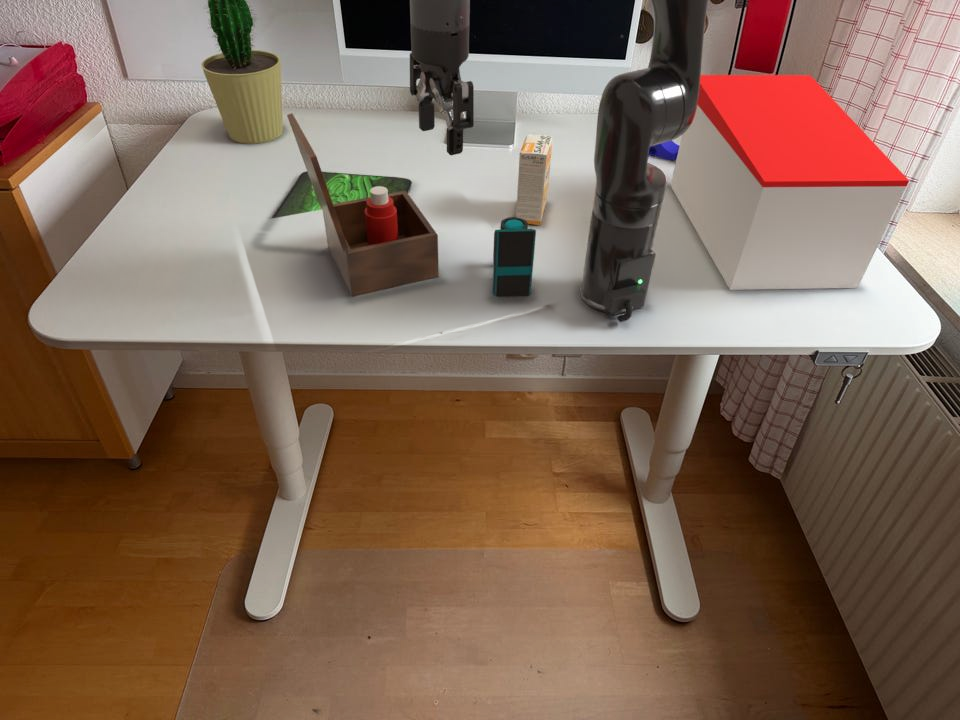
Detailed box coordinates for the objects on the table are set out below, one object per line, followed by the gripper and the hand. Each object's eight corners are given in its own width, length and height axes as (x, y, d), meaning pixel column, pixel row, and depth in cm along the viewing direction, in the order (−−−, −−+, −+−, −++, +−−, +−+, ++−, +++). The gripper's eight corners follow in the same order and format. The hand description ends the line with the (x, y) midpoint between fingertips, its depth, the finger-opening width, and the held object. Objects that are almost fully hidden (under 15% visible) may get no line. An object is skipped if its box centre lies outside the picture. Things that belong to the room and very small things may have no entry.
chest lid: (292, 112, 94) (286, 114, 94) (316, 155, 84) (310, 157, 84) (323, 202, 104) (318, 203, 104) (348, 249, 94) (343, 251, 94)
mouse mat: (382, 259, 109) (382, 253, 108) (252, 248, 111) (251, 243, 110) (414, 181, 129) (413, 177, 129) (303, 173, 131) (302, 168, 130)
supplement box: (541, 226, 118) (548, 155, 109) (514, 223, 118) (518, 152, 110) (547, 204, 124) (554, 135, 115) (521, 201, 124) (526, 132, 116)
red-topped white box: (772, 184, 132) (809, 74, 118) (857, 287, 105) (917, 163, 92) (669, 184, 130) (694, 74, 117) (729, 289, 104) (770, 163, 90)
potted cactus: (293, 145, 141) (265, -15, 121) (216, 150, 138) (175, -13, 118) (292, 116, 152) (267, -34, 132) (221, 121, 149) (184, -32, 129)
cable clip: (645, 153, 141) (651, 125, 137) (653, 146, 144) (659, 118, 140) (701, 168, 136) (708, 139, 132) (708, 160, 139) (715, 132, 135)
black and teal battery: (527, 196, 101) (536, 231, 93) (522, 263, 109) (530, 300, 101) (490, 196, 100) (496, 231, 93) (488, 264, 108) (493, 301, 101)
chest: (408, 235, 114) (405, 190, 109) (439, 281, 104) (437, 234, 99) (328, 251, 110) (321, 205, 105) (352, 301, 100) (346, 253, 95)
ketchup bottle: (404, 265, 106) (399, 194, 98) (374, 271, 104) (367, 200, 96) (394, 250, 109) (389, 180, 101) (366, 256, 108) (358, 185, 100)
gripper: (389, 7, 88) (395, 127, 99) (440, 40, 79) (440, 167, 90) (439, 1, 91) (440, 118, 102) (494, 32, 82) (488, 156, 93)
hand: (440, 141), depth 96 cm, fingers open, 8 cm apart
